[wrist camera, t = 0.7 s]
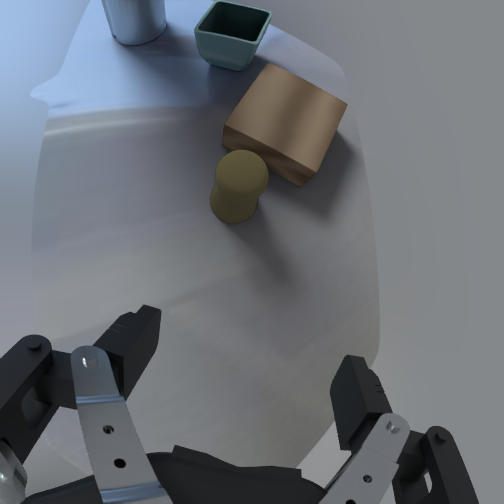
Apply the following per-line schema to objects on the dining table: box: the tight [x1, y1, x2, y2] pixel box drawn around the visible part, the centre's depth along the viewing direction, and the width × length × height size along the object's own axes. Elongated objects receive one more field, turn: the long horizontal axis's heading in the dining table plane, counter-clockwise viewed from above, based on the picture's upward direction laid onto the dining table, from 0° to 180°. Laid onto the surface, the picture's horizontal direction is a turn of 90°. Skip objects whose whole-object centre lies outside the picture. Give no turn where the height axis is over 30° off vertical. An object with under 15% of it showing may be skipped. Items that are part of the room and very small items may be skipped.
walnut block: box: [222, 62, 348, 187], centre depth 36 cm, size 12×12×6 cm
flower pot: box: [194, 0, 273, 71], centre depth 35 cm, size 9×9×9 cm
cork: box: [210, 150, 269, 224], centre depth 32 cm, size 6×6×11 cm
